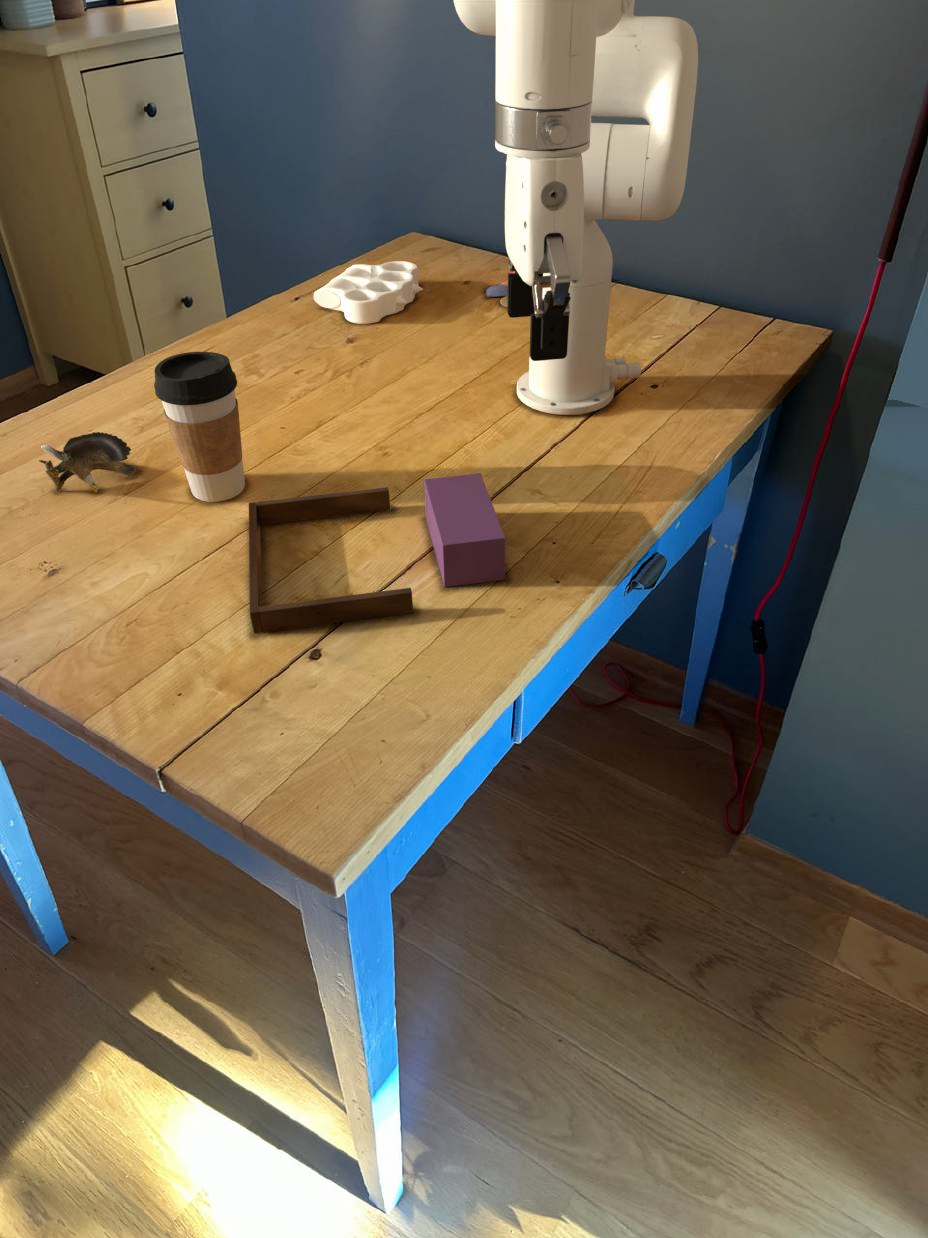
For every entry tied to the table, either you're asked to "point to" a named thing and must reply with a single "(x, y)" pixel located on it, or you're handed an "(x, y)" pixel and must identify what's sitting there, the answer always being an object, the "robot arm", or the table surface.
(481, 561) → the plum block
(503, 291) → the toy pieces
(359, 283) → the white paint palette
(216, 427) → the coffee cup
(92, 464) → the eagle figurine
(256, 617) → the walnut bay
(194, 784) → the table surface
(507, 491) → the table surface
